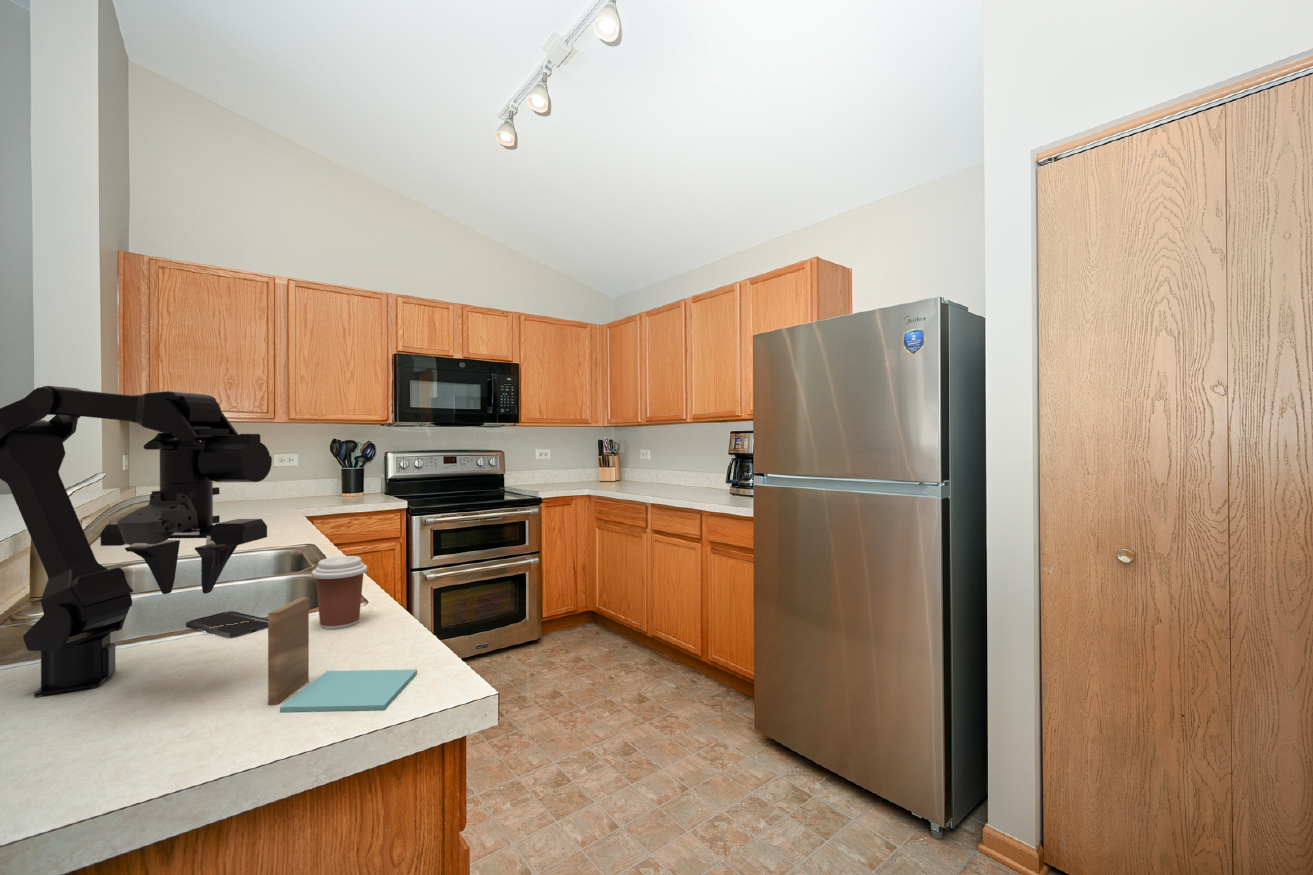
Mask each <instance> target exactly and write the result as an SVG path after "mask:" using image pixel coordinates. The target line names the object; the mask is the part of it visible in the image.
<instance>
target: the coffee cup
mask: <svg viewBox="0 0 1313 875" xmlns="http://www.w3.org/2000/svg"><path fill="white" fill-rule="evenodd" d="M367 571H368V565H367V564H364V562H362V558H361V557H360V556H358V555H341V556H332V557H327V558H323V559H320V560H319V561H318V562H317V566H316V568H315V569H313V570H312V571H311V577H312V578H313V579H315V584H316V586H315V587H316V595H317V596H316V597H317V606H318V615H319V617H318V618H319V627H320V629H322V630H326V631H327V630H328V631H333V630H344V629H346V628H351V627H354V626H356V625H358V624H359V623H360V615H361V605H362V604H361V603H362V593H363V583H364V582H363V580H364V574H365V573H367Z"/></svg>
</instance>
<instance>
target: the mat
mask: <svg viewBox="0 0 1313 875" xmlns="http://www.w3.org/2000/svg"><path fill="white" fill-rule="evenodd" d="M417 674H418V669H369V670H368V669H364V670H363V669H362V670H361V669H360V670H357V669H356V670H355V669H354V670H326V671H325V672H324V673H322V674H321V675H320V676H319V677H317V678H316V679H314V680H313V681H312V682H310V684H308V685H306V686H305V687H304V688H303V689H301V690H300V691H298V693H296V694H295V695H294V696H292V697H291V698H290V699H288V700H287V701H286V702H284V704H282V705H281V706H280V707H279V713H287V712H288V713H289V712H290V713H293V712H295V713H296V712H298V713H299V712H336V711H340V712H341V711H347V712H348V711H349V712H350V711H385V709H387V707H389V705H390V704H391V703H392V701H393V700H394V699H396V697H398V695H399V694H400V693H401V692H403V689H405V687H407V685H408V684H409V683H410V682H411V681H412V680H413V678H415V677H416V675H417Z"/></svg>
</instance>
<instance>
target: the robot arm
mask: <svg viewBox="0 0 1313 875" xmlns="http://www.w3.org/2000/svg"><path fill="white" fill-rule="evenodd" d="M47 416H52V418H51V419H49V420H45V419H44V418H46V417H47ZM81 417H86V418H95V419H106V420H115V421H124V422H125V421H127V422H132V423H135V424H138V425H139V426H141V427H142V428H144V429H148V430H151V431H155V432H158V433H157V434H156V435H155V436H154V437H153V438H152V439H151V440H149V441H147V442H146V443H145V444H144V445H143V449H144V450H146V451H147V450H148V451H149V450H150V451H151V450H152V451H154V450H155V451H157V450H159V490H152V491H151V494H150V495H149V503H148V504H147V505H146V506H142V507H140V508H137V509H135V510H134V511H132V512H131V513H129V514H127V515H125V516H124V517H122V518H120V519H118V520H117V521H116V522H114V523H108V524H106V525H105V527H103V529H102V530H101V531H100V533H99V534H100V535H99V536H100V537H99V538H100V541H99V542H100V547H107V546H108V547H112V546H113V547H115V546H116V547H119V546H120V547H121V546H125V545H126V546H127V545H128V547H124V550H125V551H126V552H127V553H128V552H130V553H133V554H136V555H137V556H139V557H140V558H142V560H144V561H145V563H146V564H147V566H148V568H149V570H150V571H151V573H152V576H153V577H154V579H155V580H154V581H155V582H156V584H157V585H158V588H159V590H160V592H161V593H162V594H163V595H168V594H171V593H172V591H173V588H174V584H175V580H176V579H175V578H176V572H177V565H178V558H179V550H180V544H181V540H180V539H205V540H206V543H205V544H204V545H201V546H196V547H194V550H195V552H197V554H198V555H199V556H200V559H201V560H200V562H201V563H200V564H201V566H200V568H201V571H200V572H201V575H200V576H201V590H202V591H201V592H202V593H203V595H205V594H209V593H211V592H213V589H214V587H215V585H216V583H217V581H218V579H219V577H220V576H221V574H222V572H223V570H224V568H225V566H226V564H227V563H228V561H229V559H230V557H231V556H232V555H233V554H234V553H235V552H234V551H235V550H236V548H238V546H240V545H243V544H249V543H251V542H254V541H259V540H261V539H265V538H268V525H267V524H266V523H265V521H264V520H263V519H262V518H235V519H231V520H227V521H226V520H225V521H220V518H221V517H220V515H214V513H213V511H214V503H213V502H214V500H213V498H214V497H213V496H216V495H217V496H218V495H220V487H219V486H218V487H217V486H216V487H214V482H215V483H258V482H261V481H264V480H265V479H266V478H267V477H268V475H269V474H270V472H271V468H272V463H273V461H272V460H273V457H272V456H271V454H270V451H269V449H268V447H267V446H266V445H265V444H263V443H262V442H261V434H260V433H238V432H237V430H236V429H235V428H234V427H233V425H232V423H231V422H230V421H229V419H228V418H227V417H226V416H225V414H224V413H223V412H222V409H221V407H220V403H219V402H218V401H217V399H216V398H215V397H214V396H212V395H209V394H201V393H200V394H199V393H191V392H180V391H170V390H169V391H168V390H167V391H156V392H146V393H142V394H136V395H134V394H133V395H131V394H124V393H112V392H102V391H94V390H93V391H92V390H83V389H80V388H78V387H77V388H76V387H68V386H66V387H65V386H56V385H55V386H54V385H43V386H41V387H40V386H39V387H37V388H35V389H33V390H32V391H30V393H29V394H27V395H26V396H25V397H24V398H21V399H19V400H17V401H14V402H12V403H9V404H8V405H5V406H3V407H1V408H0V480H1V481H2V482H4V483H6V485H8V487H9V490H10V492H11V494H12V497H13V498H14V501H15V504H16V505H17V508H18V511H19V513H20V515H21V518H22V520H23V522H24V525H25V527H26V529H27V531H28V534H29V536H30V538H31V540H32V543H33V545H34V547H35V550H36V552H37V556H39V559H40V562H41V563H42V566H43V568H44V571H45V572H46V576H47V582H46V585H45V587H44V590H43V593H42V595H41V599H40V605H41V608H42V614H43V615H42V616H41V617H40V618H39V619H38V620H37V621H36V622H35V623H34V624H33V625H32V626H31V628H29V630H27V631H26V633H24V634H23V636H22V639H23V641H24V644H25V647H26V649H27V651H28V652H40V688H38V689H37V690H36V691H34V693H33V695H34V696H33V697H39V696H45V695H52V694H59V693H65V692H73V691H80V690H85V689H93V688H97V687H99V686H101V685H102V683H104V682H105V681H106V680H107V679H108V678H109V677H110V676H111V675H112V674H114V672H116V643H115V642H112V643H111V639H112V638H111V633H114V632H119V631H121V630H122V629H123V627H124V623H125V621H126V618H127V615H128V614H129V611H130V608H132V606H133V597H132V594H131V593H133V592H134V589H133V588H132V587H131V586H130V585H129V583H128V582H127V581H128V580H127V579H126V574H125V572H124V570H123V569H122V568H121V567H119V566H118V567H115V568H110V569H108V568H107V567H105V566H103V565H102V564H100V563H99V562H98V561H97V559H96V557H95V556H96V555H95V554H94V551H93V549H92V547H91V545H90V543H89V540H88V539H87V536H86V533H85V531H84V529H83V527H82V525H81V522H80V520H79V518H78V515H77V513H76V511H75V508H74V506H73V504H72V500H71V499H70V497H69V494H68V491H67V490H66V487H65V485H64V483H63V480H62V478H61V476H60V470H61V466H62V464H63V462H64V459H65V457H66V449H65V446H64V442H66V441H67V440H68V439H69V438H70V437H71V436H72V435H74V434H75V433H76V431H77V427H78V426H77V425H78V420H79V418H81Z"/></svg>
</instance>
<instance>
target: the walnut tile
mask: <svg viewBox="0 0 1313 875" xmlns="http://www.w3.org/2000/svg"><path fill="white" fill-rule="evenodd" d="M309 603H310V601H309V597H299V598H297V599H294V600H293V601H291V602H289V603H287V604H284V605H283V606H280V607H278V608H276V609H273V610H272V611H270V612H268V613H267V619H268V628H267V639H268V640H267V704H268V705H267V706H279V705H280V704H281V703H282V702H284V701H285V700H286V699H288V698H289V697H290V696H291V695H293V694H294V693H295V692H297V691H298V690H300V689H301V688H302V687H303V686H305V685H306V684H307V683H309V682H310V681H309V680H310V679H309V676H310V675H309V674H310V672H309V669H310V668H309V666H310V661H309V653H310V652H309V651H310V650H309V648H310V646H309V645H310V643H309V642H310V640H309V639H310V638H309V637H310V634H309V633H310V632H309V630H310V629H309V628H310V627H309V622H310V620H309V619H310V617H309V616H310V615H309V614H310V612H309V611H310V610H309V609H310V608H309Z"/></svg>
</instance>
